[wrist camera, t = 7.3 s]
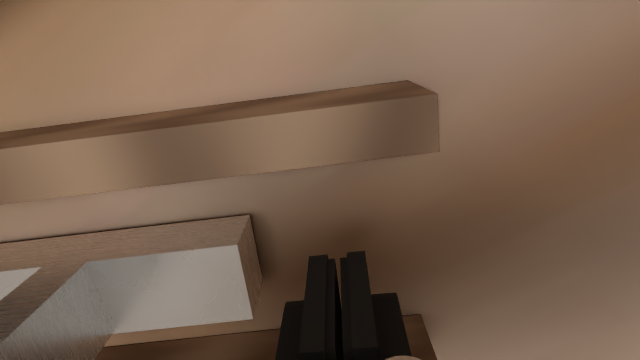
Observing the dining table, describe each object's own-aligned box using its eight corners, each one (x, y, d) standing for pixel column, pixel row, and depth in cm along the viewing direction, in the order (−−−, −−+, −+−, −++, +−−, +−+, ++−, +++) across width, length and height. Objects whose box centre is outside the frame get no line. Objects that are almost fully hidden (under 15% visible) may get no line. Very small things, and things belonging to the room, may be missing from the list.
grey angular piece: (239, 163, 15) (160, 283, 8) (270, 321, 18) (233, 533, 10) (-94, 204, 16) (-470, 353, 8) (-21, 352, 18) (-265, 574, 11)
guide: (407, 80, 15) (449, 98, 10) (422, 343, 18) (457, 449, 14) (-315, 172, 16) (-586, 228, 11) (-163, 403, 20) (-317, 518, 15)
